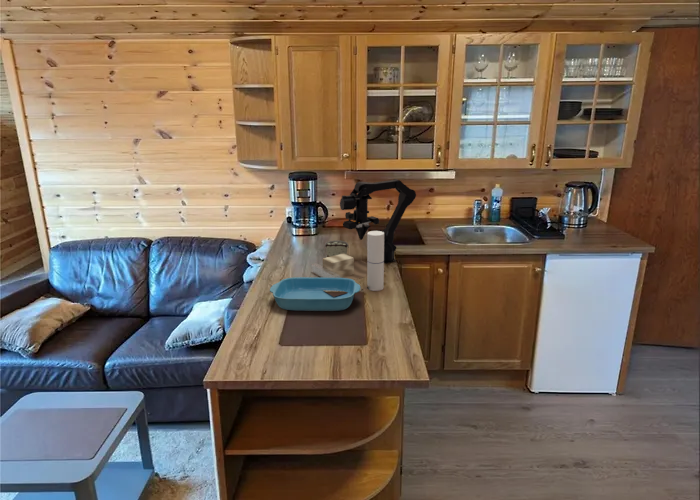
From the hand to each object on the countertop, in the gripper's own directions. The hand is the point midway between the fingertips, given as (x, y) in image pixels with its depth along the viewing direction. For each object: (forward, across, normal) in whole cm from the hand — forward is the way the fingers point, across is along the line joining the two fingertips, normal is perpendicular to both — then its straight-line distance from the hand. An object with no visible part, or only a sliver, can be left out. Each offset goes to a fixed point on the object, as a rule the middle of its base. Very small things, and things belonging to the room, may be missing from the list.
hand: (361, 239), depth 231 cm
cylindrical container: (+13, +14, +27) cm, 33 cm away
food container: (+14, +5, -12) cm, 19 cm away
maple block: (+12, +19, +7) cm, 23 cm away
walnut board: (+13, +13, +7) cm, 20 cm away
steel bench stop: (+12, +26, +7) cm, 30 cm away
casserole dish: (+14, +42, +23) cm, 51 cm away
